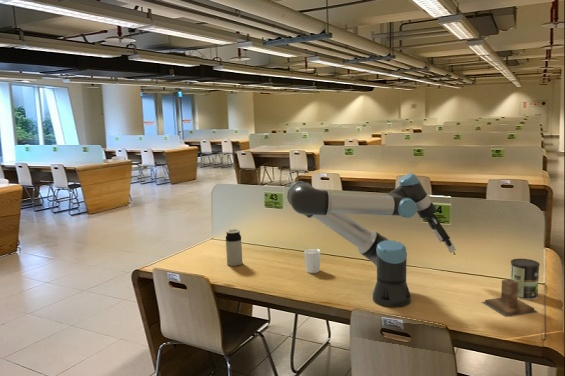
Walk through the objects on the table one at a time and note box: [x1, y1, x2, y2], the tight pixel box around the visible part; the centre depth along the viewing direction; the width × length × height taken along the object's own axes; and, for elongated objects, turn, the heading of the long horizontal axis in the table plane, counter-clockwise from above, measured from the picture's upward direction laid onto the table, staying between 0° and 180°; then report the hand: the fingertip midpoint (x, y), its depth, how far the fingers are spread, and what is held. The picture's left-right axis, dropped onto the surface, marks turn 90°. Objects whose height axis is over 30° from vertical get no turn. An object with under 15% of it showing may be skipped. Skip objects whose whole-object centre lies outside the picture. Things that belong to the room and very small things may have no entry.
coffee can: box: [510, 258, 540, 301], centre depth 187 cm, size 10×10×14 cm
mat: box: [481, 301, 538, 318], centre depth 177 cm, size 14×14×1 cm
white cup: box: [303, 248, 321, 274], centre depth 227 cm, size 8×8×10 cm
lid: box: [484, 278, 535, 315], centre depth 176 cm, size 12×12×10 cm
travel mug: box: [225, 228, 243, 267], centre depth 241 cm, size 8×8×18 cm
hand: (447, 245), depth 202 cm, fingers open, 13 cm apart
